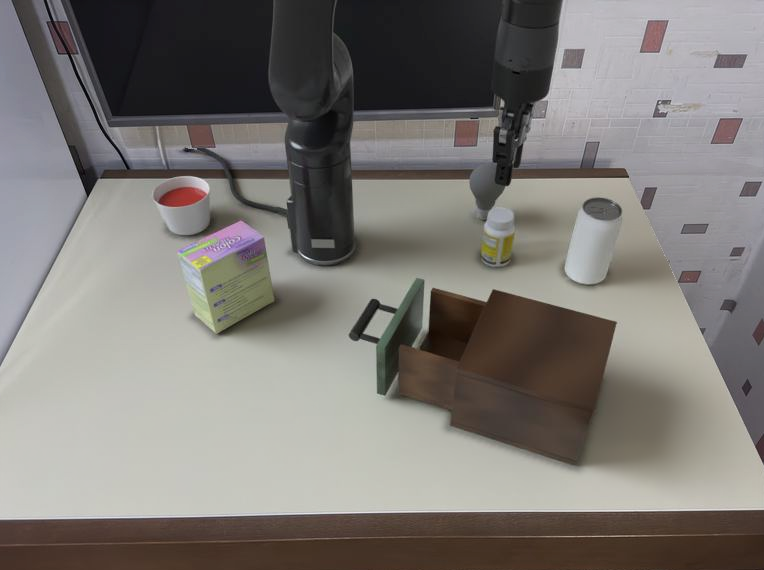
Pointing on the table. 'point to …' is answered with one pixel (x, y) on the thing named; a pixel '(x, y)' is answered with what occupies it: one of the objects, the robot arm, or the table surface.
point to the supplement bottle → (498, 237)
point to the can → (593, 240)
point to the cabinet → (532, 375)
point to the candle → (184, 204)
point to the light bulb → (485, 188)
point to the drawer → (438, 351)
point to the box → (227, 275)
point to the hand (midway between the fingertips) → (507, 174)
